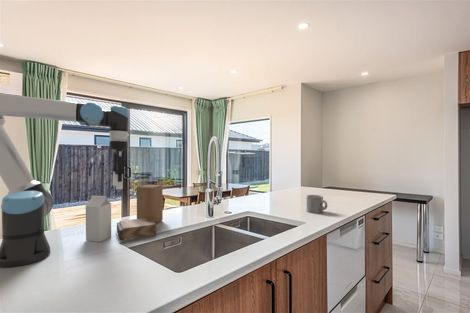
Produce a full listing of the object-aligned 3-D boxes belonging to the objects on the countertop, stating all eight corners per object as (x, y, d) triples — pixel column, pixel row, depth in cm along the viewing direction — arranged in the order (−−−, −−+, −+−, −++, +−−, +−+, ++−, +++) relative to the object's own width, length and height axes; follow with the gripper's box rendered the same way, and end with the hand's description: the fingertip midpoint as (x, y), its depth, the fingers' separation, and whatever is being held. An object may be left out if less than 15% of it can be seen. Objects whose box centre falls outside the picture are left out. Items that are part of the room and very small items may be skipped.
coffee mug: (303, 211, 166) (303, 195, 166) (314, 209, 171) (314, 194, 171) (319, 215, 155) (319, 198, 155) (330, 213, 160) (330, 197, 160)
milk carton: (100, 242, 109) (99, 197, 108) (85, 241, 110) (85, 196, 110) (111, 236, 116) (111, 194, 115) (97, 235, 117) (97, 194, 117)
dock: (119, 240, 111) (119, 229, 111) (116, 231, 123) (116, 221, 123) (155, 234, 118) (155, 224, 118) (149, 227, 130) (149, 217, 130)
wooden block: (136, 223, 136) (135, 186, 136) (148, 219, 146) (148, 184, 145) (151, 225, 133) (150, 187, 132) (163, 221, 142) (163, 185, 142)
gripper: (131, 140, 108) (130, 190, 109) (123, 142, 130) (122, 183, 130) (112, 139, 105) (110, 191, 105) (107, 141, 126) (106, 184, 126)
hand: (117, 187), depth 117 cm, fingers open, 13 cm apart
